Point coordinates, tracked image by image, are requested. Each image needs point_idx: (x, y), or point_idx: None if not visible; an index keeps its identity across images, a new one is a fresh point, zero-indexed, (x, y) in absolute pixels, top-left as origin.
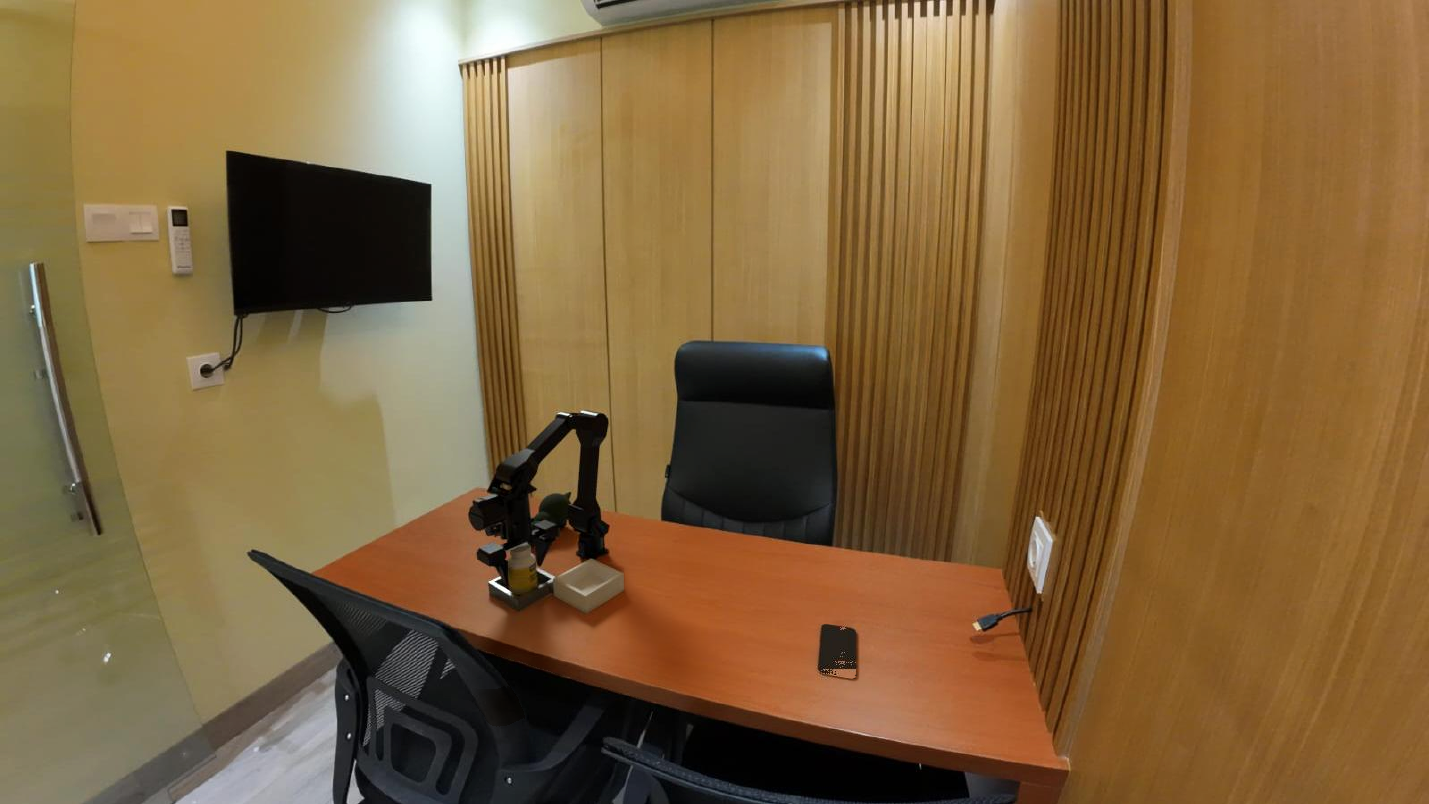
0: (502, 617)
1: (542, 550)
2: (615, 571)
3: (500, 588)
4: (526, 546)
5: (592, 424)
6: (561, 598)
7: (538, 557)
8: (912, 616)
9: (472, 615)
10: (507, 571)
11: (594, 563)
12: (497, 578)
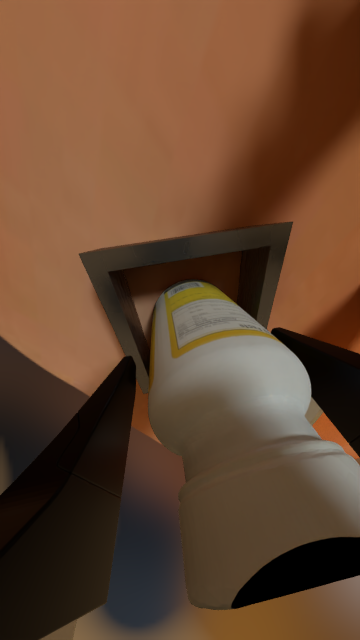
0: (111, 366)
1: (345, 423)
2: (314, 419)
3: (119, 331)
4: (334, 553)
5: None
6: None
7: (303, 362)
8: None
9: (39, 326)
10: (123, 455)
11: None
12: (127, 256)
